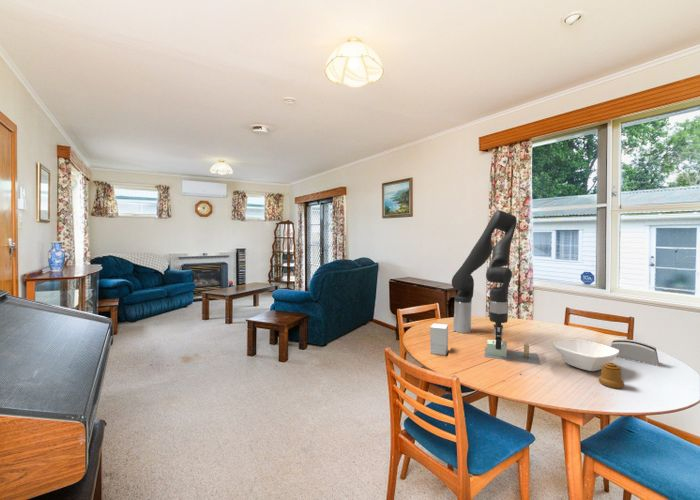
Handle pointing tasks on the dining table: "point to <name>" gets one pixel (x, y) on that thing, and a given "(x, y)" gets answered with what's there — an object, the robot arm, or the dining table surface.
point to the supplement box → (439, 339)
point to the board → (517, 356)
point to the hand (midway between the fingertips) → (498, 346)
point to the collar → (493, 351)
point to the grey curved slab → (636, 351)
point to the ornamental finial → (611, 376)
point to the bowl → (585, 353)
